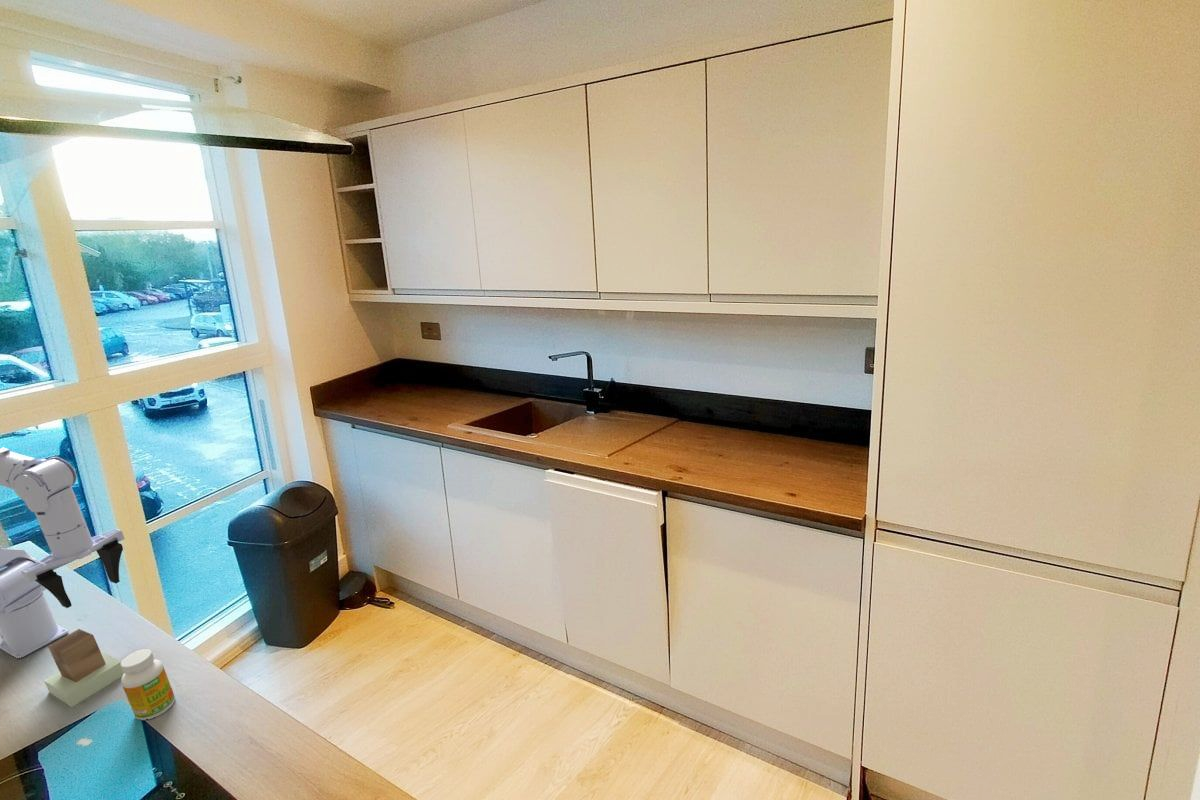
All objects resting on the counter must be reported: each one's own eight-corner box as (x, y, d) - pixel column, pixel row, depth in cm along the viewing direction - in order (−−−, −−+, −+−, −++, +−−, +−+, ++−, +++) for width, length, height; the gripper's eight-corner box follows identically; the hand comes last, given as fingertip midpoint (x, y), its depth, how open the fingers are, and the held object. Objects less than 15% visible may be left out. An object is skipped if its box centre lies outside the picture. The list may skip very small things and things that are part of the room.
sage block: (50, 694, 105) (43, 680, 104) (104, 662, 111) (98, 649, 110) (72, 709, 101) (66, 694, 100) (127, 675, 107) (121, 661, 106)
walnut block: (61, 675, 104) (47, 646, 102) (91, 657, 108) (78, 628, 106) (75, 682, 102) (62, 653, 100) (105, 663, 106) (93, 635, 104)
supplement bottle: (155, 722, 96) (134, 671, 93) (126, 719, 97) (105, 669, 94) (183, 696, 101) (165, 646, 98) (156, 693, 102) (137, 644, 99)
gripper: (23, 553, 101) (54, 623, 105) (122, 511, 113) (146, 575, 117) (5, 545, 104) (35, 613, 109) (102, 505, 116) (126, 568, 120)
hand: (91, 593), depth 113 cm, fingers open, 7 cm apart
